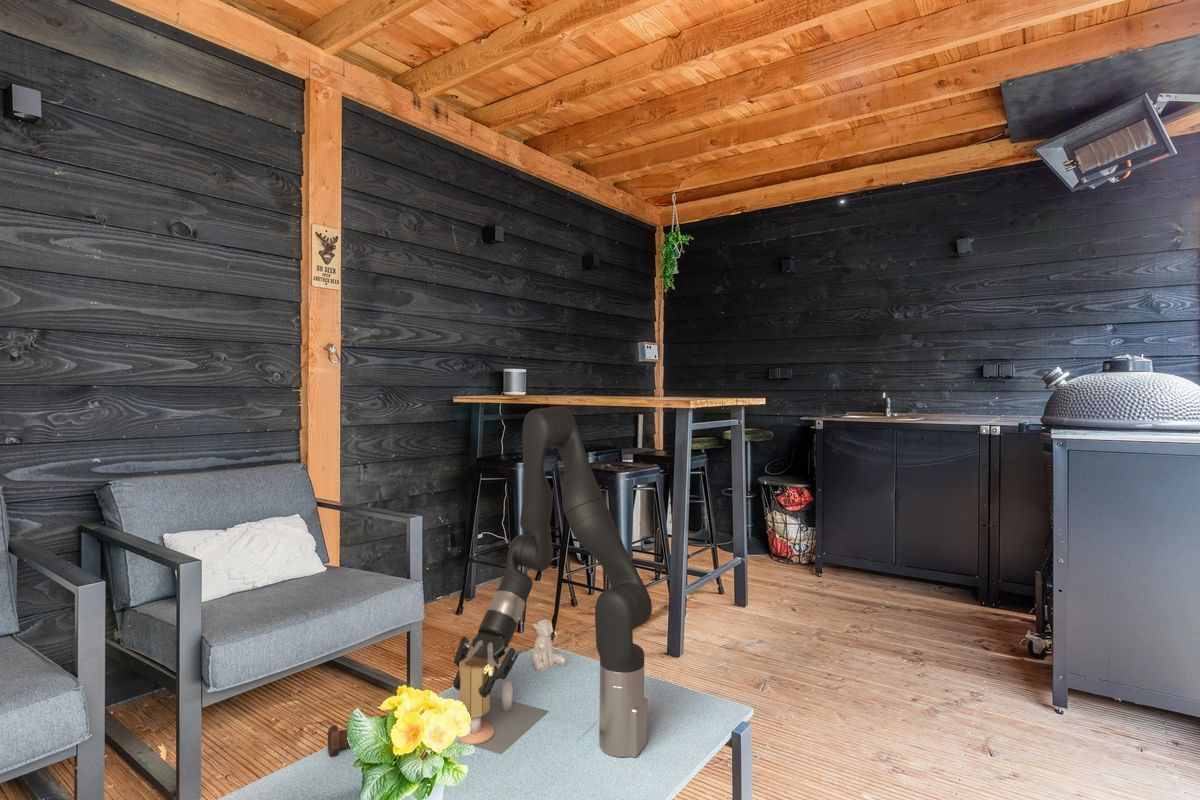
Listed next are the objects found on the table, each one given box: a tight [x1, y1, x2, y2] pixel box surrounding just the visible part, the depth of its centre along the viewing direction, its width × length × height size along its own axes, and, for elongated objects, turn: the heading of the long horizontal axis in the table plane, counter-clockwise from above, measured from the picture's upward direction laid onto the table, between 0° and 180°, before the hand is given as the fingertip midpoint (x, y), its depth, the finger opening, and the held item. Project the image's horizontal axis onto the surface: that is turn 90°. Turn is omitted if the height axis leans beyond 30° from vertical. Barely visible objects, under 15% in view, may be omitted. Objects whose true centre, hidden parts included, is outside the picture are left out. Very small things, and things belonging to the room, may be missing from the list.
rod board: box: [457, 680, 550, 755], centre depth 140 cm, size 18×20×8 cm
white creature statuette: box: [530, 618, 568, 673], centre depth 172 cm, size 10×9×12 cm
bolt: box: [327, 724, 350, 758], centre depth 134 cm, size 6×5×15 cm
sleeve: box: [458, 656, 491, 718], centre depth 135 cm, size 6×6×10 cm
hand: (469, 692), depth 133 cm, fingers closed on sleeve, 6 cm apart
